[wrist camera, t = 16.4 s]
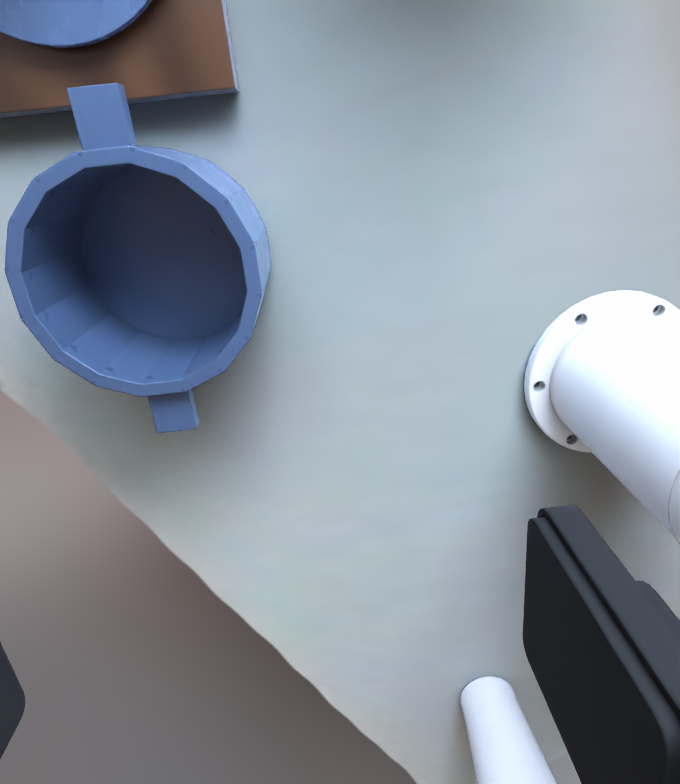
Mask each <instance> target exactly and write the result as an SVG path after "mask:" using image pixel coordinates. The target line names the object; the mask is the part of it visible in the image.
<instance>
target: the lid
mask: <svg viewBox="0 0 680 784" xmlns="http://www.w3.org/2000/svg"><path fill="white" fill-rule="evenodd" d="M151 2H152V0H0V32H1V33H4V34H6V35H9V36H11V37H14V38H16V39H19V40H21V41H24V42H28V43H32V44H36V45H39V46H46V47H55V48H71V47H80V46H86V45H91V44H94V43H97V42H100V41H103V40H105V39H108V38H110V37H112V36H113V35H115V34H117V33H119V32H121V31H122V30H124V29H125V28H126V27H128V26H129V25H130V24H131V23H133V22H134V21H135V20H136V19H137V18H138V17H139V16H140V15H141V14H142V13H143V12H144V11H145V10H146V9H147V7H148V6H149V5H150V3H151Z"/></svg>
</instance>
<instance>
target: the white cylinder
mask: <svg viewBox="0 0 680 784" xmlns="http://www.w3.org/2000/svg"><path fill="white" fill-rule="evenodd" d="M460 703H461V708H462V711H463V715H464V719H465V723H466V728H467V733H468V738H469V743H470V749H471V754H472V759H473V764H474V770H475V775H476V780H477V784H557V781H556V779H555V778H554V776H553V773H552V771H551V769H550V767H549V765H548V763H547V761H546V759H545V757H544V755H543V753H542V751H541V749H540V747H539V745H538V743H537V741H536V739H535V736H534V734H533V732H532V730H531V728H530V726H529V724H528V722H527V720H526V718H525V716H524V714H523V711H522V709H521V707H520V705H519V703H518V700H517V697H516V695H515V692H514V690H513V688H512V686H511V685H510V684H509V683H508V682H507V681H505V680H504V679H502V678H499V677H495V676H485V677H481V678H477V679H475V680H473V681H471V682H470V683H469V684H468V685H467V686H466V687H465V688H464V689H463V691H462V693H461V697H460Z"/></svg>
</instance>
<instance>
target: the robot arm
mask: <svg viewBox="0 0 680 784" xmlns="http://www.w3.org/2000/svg"><path fill="white" fill-rule="evenodd" d="M577 315H579V316H578V318H577V319H575V318H576V317H577ZM536 382H537V384H535V383H536ZM534 384H535V385H534ZM524 392H525V400H526V404H527V406H528V409H529V412H530V414H531V416H532V418H533V419H534V421H535V422H536V424H537V425H538V426H539V427H540V428H541V430H542V431H543V432H544V433H545V434H546V435H547V436H548V437H550V438H551V439H552V440H553V441H555V442H556V443H558V444H560V445H562V446H564V447H566V448H568V449H572V450H576V451H580V452H590V453H593V454H594V455H595V456H596V457H597V458H598V459H599V460H600V461H601V462H602V463H603V464H604V465H605V466H606V467H607V468H608V469H609V470H610V471H611V473H612V474H613V475H614V476H615V477H616V478H617V479H618V480H619V481H620V482H621V483H622V484H623V485H624V486H625V487H626V488H627V489H628V490H629V491H630V492H631V493H632V494H633V495H634V496H635V497H636V498H637V499H638V501H639V502H640V503H641V504H642V505H643V506H644V507H645V508H646V509H647V510H648V511H649V512H650V513H651V514H652V515H653V516H654V517H655V518H656V519H657V520H658V521H659V522H660V523H661V524H662V525H663V526H664V528H665V529H666V530H667V531H668V532H669V533H670V534H671V535H672V536H673V537H674V538H675V539H676V540H677V541H678V542H679V543H680V310H679V309H677V308H676V307H675V306H673V305H672V304H671V303H669V302H668V301H665V300H663V299H661V298H659V297H656V296H654V295H651V294H647V293H644V292H640V291H629V290H621V291H612V292H606V293H602V294H599V295H596V296H592V297H589V298H587V299H585V300H583V301H581V302H579V303H577V304H575V305H574V306H572V307H571V308H569V309H568V310H567V311H565V312H564V313H562V314H561V315H560V316H559V317H558V318H557V319H556V320H555V321H554V322H553V323H552V324H551V325H550V326H549V327H548V328H547V329H546V330H545V331H544V333H543V334H542V336H541V337H540V338H539V340H538V341H537V343H536V345H535V347H534V349H533V351H532V353H531V355H530V357H529V360H528V364H527V367H526V371H525V380H524ZM523 643H524V648H525V652H526V656H527V658H528V661H529V663H530V666H531V668H532V670H533V672H534V675H535V677H536V679H537V682H538V684H539V686H540V689H541V691H542V693H543V695H544V698H545V700H546V702H547V705H548V707H549V709H550V712H551V714H552V716H553V718H554V721H555V723H556V725H557V728H558V730H559V732H560V735H561V737H562V739H563V741H564V744H565V746H566V748H567V751H568V753H569V755H570V758H571V760H572V762H573V764H574V767H575V769H576V771H577V774H578V776H579V778H580V781H581V783H582V784H680V620H679V619H678V618H677V617H676V615H675V614H674V613H673V612H672V610H671V609H670V608H669V607H668V605H667V604H666V603H665V602H664V600H663V599H662V598H661V597H660V595H659V594H658V593H657V592H656V591H655V590H654V589H653V588H652V587H651V586H650V585H649V584H647V583H646V582H644V581H635V580H634V579H633V577H632V576H631V575H630V573H629V572H628V571H627V569H626V568H625V567H624V566H623V564H622V563H621V562H620V560H619V559H618V558H617V556H616V555H615V554H614V553H613V551H612V550H611V549H610V547H609V546H608V545H607V543H606V542H605V541H604V540H603V538H602V537H601V536H600V534H599V533H598V532H597V530H596V529H595V528H594V527H593V525H592V524H591V523H590V521H589V520H588V519H587V517H586V516H585V515H584V514H583V512H582V511H581V510H580V509H579V508H578V507H577V506H575V505H568V506H559V507H550V508H542V509H540V510H539V512H538V516H537V518H532V519H529V521H528V530H527V552H526V575H525V597H524V620H523ZM24 708H25V695H24V692H23V690H22V688H21V686H20V683H19V681H18V679H17V677H16V675H15V673H14V671H13V668H12V666H11V664H10V662H9V660H8V658H7V655H6V653H5V651H4V649H3V647H2V645H1V643H0V758H1V757H2V755H3V753H4V751H5V749H6V747H7V745H8V743H9V741H10V739H11V737H12V735H13V733H14V731H15V729H16V728H17V726H18V724H19V722H20V720H21V717H22V715H23V712H24Z"/></svg>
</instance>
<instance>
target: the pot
mask: <svg viewBox="0 0 680 784" xmlns="http://www.w3.org/2000/svg"><path fill="white" fill-rule="evenodd" d="M67 93H68V96H69V100H70V104H71V108H72V112H73V115H74V119H75V123H76V127H77V131H78V134H79V138H80V142H81V146H82V151H77V152H74V153H72V154H71V155H69V156H67V157H66V158H64V159H63V160H61V161H60V162H58V163H56V164H55V165H53V166H52V167H50V168H49V169H47V170H45V171H44V172H42V173H41V174H39V175H38V176H36V177H35V178H33V179H32V181H31V183H30V184H29V186H28V188H27V190H26V191H25V193H24V195H23V197H22V198H21V200H20V202H19V203H18V205H17V207H16V209H15V210H14V212H13V214H12V216H11V217H10V219H9V222H8V228H7V243H6V258H5V274H6V277H7V280H8V283H9V285H10V288H11V291H12V294H13V297H14V300H15V303H16V306H17V309H18V312H19V315H20V318H21V319H22V321H23V323H24V324H25V325H26V326H27V328H28V329H29V330H30V331H31V332H32V334H33V335H34V336H35V337H36V339H37V340H38V341H39V342H40V344H41V345H42V346H43V347H44V348H45V350H46V351H47V352H48V353H49V355H50V356H51V357H52V358H53V359H54V360H55V361H57V362H58V363H60V364H62V365H63V366H65V367H66V368H68V369H70V370H71V371H73V372H74V373H76V374H77V375H79V376H81V377H82V378H84V379H85V380H87V381H89V382H90V383H92V384H93V385H96V386H98V387H102V388H106V389H110V390H114V391H119V392H123V393H127V394H131V395H135V396H139V397H145V396H148V400H149V404H150V408H151V411H152V415H153V419H154V423H155V427H156V430H157V433H164V432H173V431H182V430H191V429H197V427H198V425H199V422H200V420H199V416H198V411H197V407H196V403H195V398H194V394H193V388H195V387H196V386H198V385H200V384H202V383H204V382H206V381H208V380H209V379H211V378H213V377H215V376H217V375H219V374H220V373H222V372H224V371H225V370H226V369H227V368H228V366H229V365H230V364H231V363H232V361H233V360H234V359H235V357H236V356H237V355H238V354H239V352H240V351H241V350H242V348H243V347H244V346H245V345H246V343H247V342H248V341H249V339H250V338H251V336H252V333H253V330H254V327H255V324H256V321H257V317H258V314H259V311H260V308H261V305H262V302H263V298H264V294H265V290H266V286H267V282H268V278H269V274H270V270H271V259H270V250H269V242H268V238H267V232H266V227H265V224H264V222H263V221H262V219H261V217H260V215H259V213H258V210H257V208H256V207H255V205H254V204H253V202H252V201H251V199H250V197H249V196H248V195H247V193H246V191H245V190H244V188H243V187H241V186H240V185H239V184H238V183H237V182H236V181H235V180H233V179H232V178H231V177H230V176H229V175H228V174H227V173H225V172H224V171H222V170H221V169H220V168H218V167H217V166H216V165H214V164H213V163H212V162H211V161H208V160H205V159H202V158H199V157H196V156H193V155H191V154H187V153H183V152H180V151H176V150H173V149H170V148H158V147H143V146H137V142H136V138H135V134H134V129H133V125H132V120H131V116H130V111H129V107H128V103H127V98H126V94H125V89H124V86H123V85H121V84H118V83H109V84H100V85H91V86H82V87H72V88H67Z"/></svg>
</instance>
